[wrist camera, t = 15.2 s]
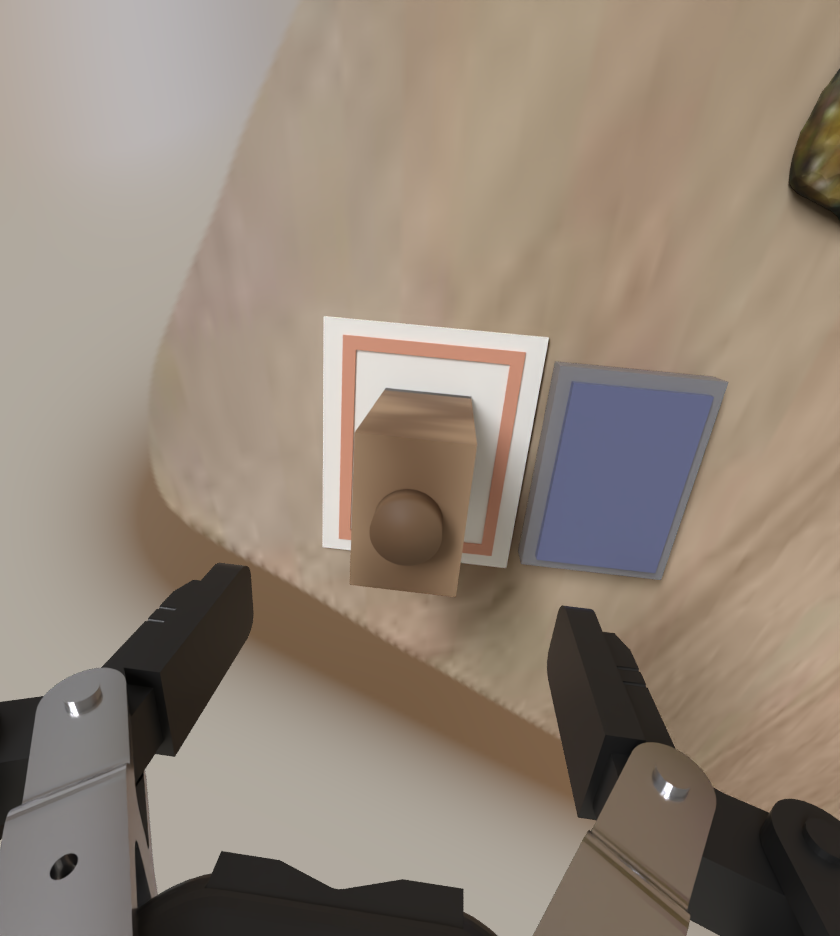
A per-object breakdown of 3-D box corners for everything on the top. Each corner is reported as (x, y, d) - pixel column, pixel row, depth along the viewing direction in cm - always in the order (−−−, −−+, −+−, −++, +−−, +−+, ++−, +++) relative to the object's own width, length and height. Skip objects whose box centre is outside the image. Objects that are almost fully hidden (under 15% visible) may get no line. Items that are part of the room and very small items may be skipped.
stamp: (471, 396, 21) (478, 456, 14) (456, 511, 23) (455, 615, 16) (385, 387, 21) (347, 442, 14) (379, 502, 24) (343, 601, 16)
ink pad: (713, 376, 20) (733, 383, 19) (651, 566, 24) (664, 584, 23) (555, 361, 21) (562, 367, 19) (518, 551, 24) (522, 568, 23)
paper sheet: (548, 337, 20) (549, 338, 20) (505, 566, 25) (506, 569, 24) (324, 316, 21) (323, 316, 20) (323, 545, 25) (322, 547, 25)
